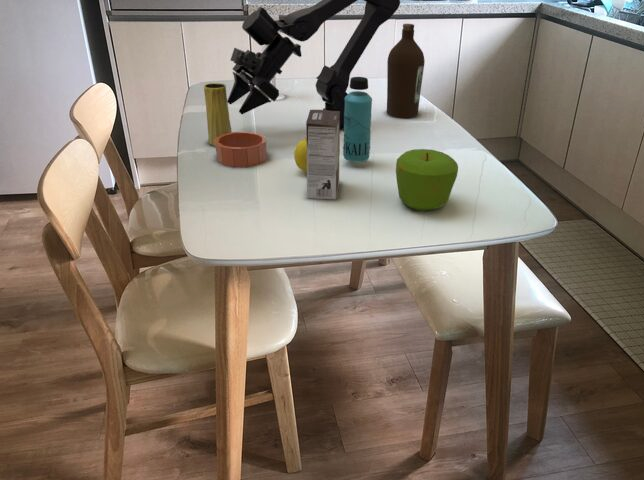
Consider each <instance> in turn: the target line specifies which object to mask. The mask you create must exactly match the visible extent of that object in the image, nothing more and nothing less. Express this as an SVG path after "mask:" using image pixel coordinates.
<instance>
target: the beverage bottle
mask: <svg viewBox="0 0 644 480" xmlns="http://www.w3.org/2000/svg"><path fill="white" fill-rule="evenodd" d="M349 88H350V89H351V90H354V91H350V92H348V93H347V94H348V95H347V96H346V97H345V110H344V129H343V137H342V138H343V139H342V142H343V145H342V155H343V158H344V160H345V161H348V162H352V163H362V162H367V161H368V160H369V158H370V154H371V139H372V137H371V135H372V134H371V133H372V130H371V127H372V105H373V98H372V96H371V95H370V94H369V93H368V92H366V91H365V90H368V89H369V79H368V78H367V77H365V76H353V77H350V78H349Z"/></svg>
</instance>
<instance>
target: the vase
mask: <svg viewBox="0 0 644 480" xmlns="http://www.w3.org/2000/svg"><path fill="white" fill-rule="evenodd" d="M203 90H204V91H203V92H204V102H205V111H206V122H207V124H206V125H207V135H208V140H207V141H208V144H209V145H210V146H212V147H216V146H215V141H216V138H217V137H219V136H221V135H223V134H227V133H232V125H231V119H230V112H229V111H230V110H229V103H228V102H227V101H228V96H227V85H226V84H225V83H222V82H209V83H206V84H204V85H203Z"/></svg>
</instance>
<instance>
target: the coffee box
mask: <svg viewBox="0 0 644 480" xmlns="http://www.w3.org/2000/svg"><path fill="white" fill-rule="evenodd" d="M305 129H306V130H305V132H306V138H305V139H307V173H306V188H307V190H306V194H307V196H306V198H307V199H317V200H337V198H338V193H339V186H340V154H341V153H340V152H341V151H340V146H341V145H340V143H341V142H340V141H341V129H340V111H329V110H323V109H310V110H309V111H308V116H307V119H306V122H305Z"/></svg>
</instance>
